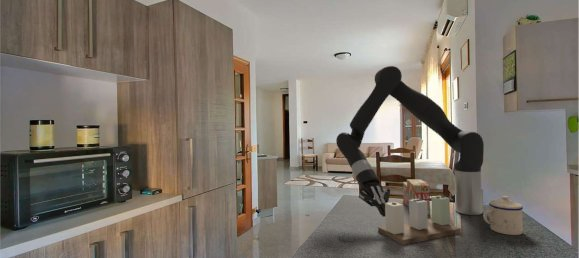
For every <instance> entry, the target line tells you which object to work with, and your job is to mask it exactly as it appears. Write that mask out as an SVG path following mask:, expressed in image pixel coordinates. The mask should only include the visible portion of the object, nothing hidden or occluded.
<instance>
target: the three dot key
mask: <svg viewBox="0 0 579 258" xmlns="http://www.w3.org/2000/svg"><path fill="white" fill-rule="evenodd" d="M408 211H409V212H408V213H409V214H408V216H409V222H410V226H411V227H413V228H416V229H418V230H420V229H425V228H428V217H429V216H428V211H427V201H424V200H423V199H412V200H409V207H408Z"/></svg>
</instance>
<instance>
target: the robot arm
mask: <svg viewBox="0 0 579 258" xmlns="http://www.w3.org/2000/svg"><path fill="white" fill-rule="evenodd" d="M402 75H403V74H402V71H401V70H400V68H398V66H395V65H388V66H384V67H382V68H381V69H379V70H378V71H377V72H376V73H375V75H374V83H375V86H374V88H373V89H372V91H371V93H369V95H368V97H367V99H365V100H364V102H363V103H362V105H361V106H360V107H359V109H358V110H357V111H356V113H355V115H354V116H353V118H352V119H351V121H350V123H349V128H350V129H351V131H350V133H349V132H340V133H339V134H338V135H337V136H336V147H337V148H338V150H339V151H340V153H341V154H342V155H343V156H344V157H345V159H346V160H347V163H348V166H350V168H351V171H352V174H353V176H354V178H355V181H356V182H357V184H358V186H359V188H360V190H361V192H360V193H359V195H358V198H359V199H360V200H362V201H363V202H365V203H366V204H367V205H369V206H370V207H375V208H376V209H377V210H378V213H379V214H380V215H381V216H382V217H383V218H384V217H385V203H389V201H390V200H389V199H390V194H391V189H389V188H387V189H386V188H384V187H383V185H382V184H381V183H380V180H379V177H378V176H377V173H376V172H375V170H374V169H373V166H372V165H371V163H370V162H369V161H368V159H367V157H366V156H365V154H364V152H363V151H362V150H360V149H359V148H360V147H361V144H362V142H363V138H364V136H365V132H366V131H367V129H368V128H369V126H370V124H371V123H372V121H373V120H374V117H375V116H376V115H377V113H378V111H379V110H380V108H381V107H382V105H383V104H384V102H385V101H386V100H387V98H388V97H389V96H391V97H392V98H394V99H395V100H396V101H397V102H398V103H400V104H401V105H402V106H403V107H404V108H405V109H406V111H408V112H409V113H411V115H413V116H414V117H415V118H417V120H419V121H420V122H421V123H422V124H424V125H425V126H426V127H428V128H429V129H430V130H431V131H433V132H435V133H436V134H437V135H438V136H439V137H440V138H441V139H443V141H444V142H446V144H447V145H448V146H449V147H450V148H451V149H452V150H453V151H455V152H457V153H459V159H458V161H457V162H454V196H455V198H454V200H455V201H454V203H455V204H454V205H455V212H457V213H460V214H463V215H467V216H468V215H469V216H480V215H482V214H483V213H484V189H483V188H482V166H483V164H484V148H485V147H484V145H485V144H484V139H483V138H482V135H481V134H479V133H478V132H475V131H464V130H462V129H460V128H459V127H457V126H456V125H455V124H453V123H452V122H451V121H450V120H449V119H448V117H447V115H446V113H445V111H444V110H443V108H442V107H441V106H440V105H439V104H437V103H436V102H435V101H434V100H433V99H431V98H430V97H428V96H427V95H425V94H423V93H422V92H419V91H418V90H415V89H413V88H411V87H410V86H408V85H407V84H406V83H404V82H403V80H402V77H403V76H402Z"/></svg>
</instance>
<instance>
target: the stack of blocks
mask: <svg viewBox="0 0 579 258" xmlns="http://www.w3.org/2000/svg"><path fill="white" fill-rule="evenodd" d="M430 188H431V187H430V185H429V184H428V183H427V181H424V180H422V179H421V178H419V179H416V178H415V179H411V178H410V179H406V181H402V193H403V197H402V198H403V202H404V203H405V204H406V206H407V207H408V208H409V200H412V199H423V200H424V201H427V211H428V215H429V216H430V215H431V206H430V205H431V196H430V195H431V194H430V193H431V192H430V190H431V189H430Z"/></svg>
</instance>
